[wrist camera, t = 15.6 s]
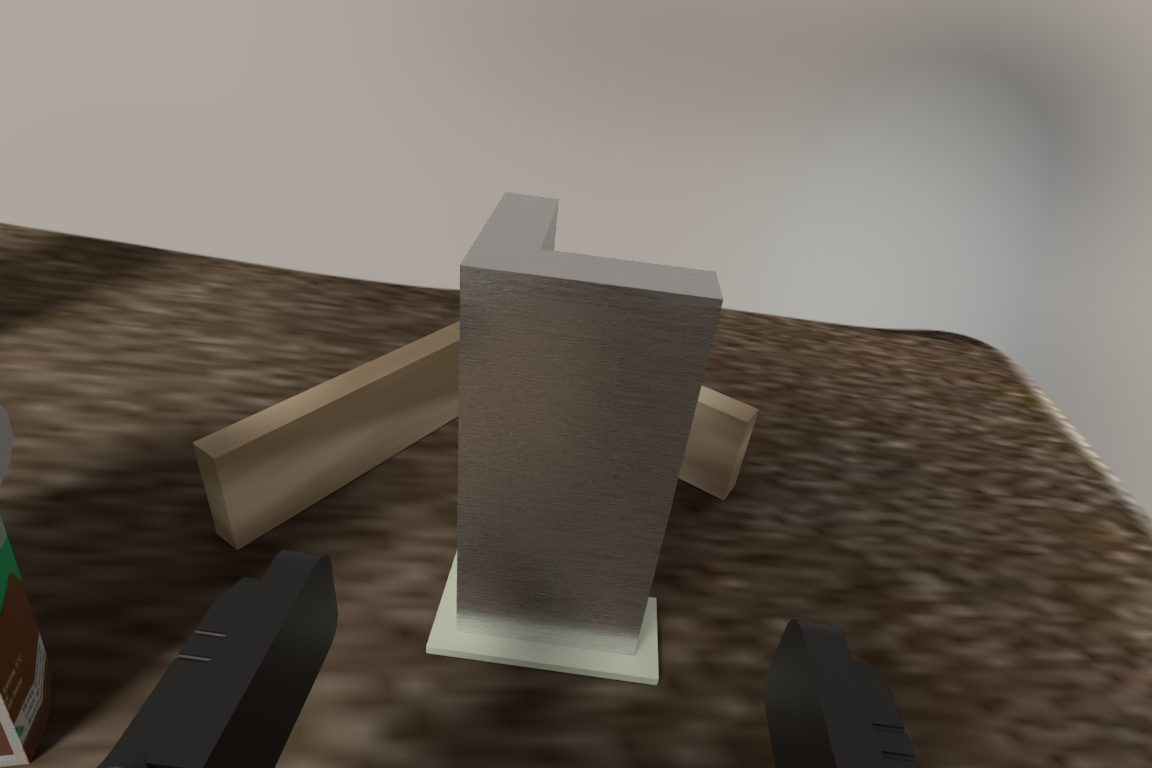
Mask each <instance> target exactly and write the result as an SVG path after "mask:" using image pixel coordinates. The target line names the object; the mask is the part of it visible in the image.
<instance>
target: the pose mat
mask: <svg viewBox="0 0 1152 768" xmlns="http://www.w3.org/2000/svg"><path fill="white" fill-rule="evenodd" d="M456 611H457V552H456V555H455V558H454V561H453V564H452V567H451V571H450V574H449V577H448V580H447V583H446V586H445V589H444V592H443V596H442V599H441V602H440V605H439V608H438V611H437V614H436V617H435V621H434V624H433V627H432V630H431V633H430V636H429V639H428V642H427V646H426V653H430V654H437V655H444V656H451V657H458V658H465V659H472V660H480V661H487V662H494V663H501V664H508V665H515V666H522V667H529V668H537V669H544V670H551V671H558V672H565V673H572V674H579V675H586V676H594V677H601V678H608V679H615V680H622V681H629V682H636V683H643V684H651V685H657V684H658V680H659V672H658V638H657V604H656V598H653V597H649V598H648V602H647V606H646V610H645V614H644V618H643V622H642V626H641V630H640V634H639V638H638V642H637V646H636V650H635V654H634V656H630V655H623V654H616V653H609V652H601V651H594V650H587V649H579V648H572V647H565V646H557V645H550V644H543V643H535V642H528V641H521V640H513V639H506V638H499V637H492V636H484V635H477V634H470V633H462V632H456Z"/></svg>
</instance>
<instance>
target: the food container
mask: <svg viewBox="0 0 1152 768" xmlns="http://www.w3.org/2000/svg"><path fill="white" fill-rule="evenodd" d="M12 442H13V432H12V429H11V425H10V421H9V417H8V414H7V412H6V411H5V410H4V408H3V407H2V406H1V404H0V484H1V482H2V480H3V477H4V475H5V473H6V470H7V468H8V466H9V463H10V460H11V451H12ZM51 676H52V669H51V666H50V663H49V660H48V657H47V654H46V651H45V648H44V645H43V642H42V639H41V636H40V633H39V630H38V627H37V624H36V621H35V618H34V615H33V612H32V609H31V606H30V603H29V600H28V597H27V594H26V591H25V587H24V584H23V581H22V578H21V575H20V572H19V569H18V566H17V563H16V560H15V557H14V554H13V551H12V548H11V545H10V542H9V539H8V536H7V533H6V530H5V527H4V524H3V521H2V518H1V515H0V767H4V766H13V765H22V764H30V762H31V759H32V757H33V755H34V752H35V750H36V747H37V745H38V743H39V740H40V738H41V735H42V733H43V731H44V728H45V726H46V723H47V721H48V719H49V705H50V690H51Z"/></svg>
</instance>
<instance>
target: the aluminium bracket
mask: <svg viewBox="0 0 1152 768" xmlns="http://www.w3.org/2000/svg"><path fill="white" fill-rule="evenodd" d="M557 211H558V199H552V198H544V197H537V196H529V195H521V194H513V193H505V194H504V196H503V197H502V199H501V201H500V202H499V204H498V206H497V207H496V209H495V210H494V212H493V213H492V215H491V217H490V218H489V220H488V222H487V223H486V225H485V226H484V228H483V229H482V231H481V233H480V234H479V236H478V238H477V239H476V241H475V242H474V244H473V246H472V247H471V249H470V250H469V252H468V254H467V255H466V257H465V258H464V260H463V262H462V263H461V265H460V338H459V429H458V520H457V611H456V632H462V633H470V634H477V635H484V636H492V637H499V638H506V639H513V640H521V641H528V642H535V643H543V644H550V645H557V646H565V647H572V648H579V649H587V650H594V651H601V652H609V653H616V654H623V655H630V656H634V654H635V650H636V646H637V642H638V638H639V634H640V630H641V626H642V622H643V618H644V614H645V610H646V606H647V602H648V598H649V594H650V590H651V586H652V582H653V578H654V574H655V570H656V566H657V562H658V558H659V554H660V550H661V546H662V542H663V538H664V534H665V530H666V526H667V522H668V518H669V514H670V510H671V506H672V502H673V498H674V494H675V490H676V486H677V482H678V478H679V474H680V470H681V466H682V462H683V458H684V454H685V450H686V446H687V442H688V438H689V434H690V430H691V426H692V422H693V418H694V414H695V410H696V406H697V402H698V398H699V394H700V390H701V386H702V382H703V378H704V374H705V370H706V366H707V362H708V358H709V354H710V350H711V346H712V342H713V338H714V334H715V330H716V326H717V322H718V318H719V314H720V310H721V306H722V302H723V297H722V294H721V290H720V286H719V283H718V279H717V276H716V272H712V271H704V270H696V269H689V268H680V267H673V266H666V265H658V264H650V263H641V262H634V261H627V260H619V259H612V258H604V257H597V256H589V255H581V254H573V253H566V252H558V251H554V244H555V233H556V221H557Z"/></svg>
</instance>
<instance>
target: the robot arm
mask: <svg viewBox="0 0 1152 768" xmlns="http://www.w3.org/2000/svg"><path fill="white" fill-rule="evenodd" d="M337 618H338V611H337V603H336V596H335V588H334V581H333V574H332V567H331V561H330V558H329V556H328V555H323V554H316V553H308V552H301V551H293V550H282V551H281V552H279V553H278V554H277V555H276V557H275V558H274V560H273V561H272V563H271V564H270V566H269V568H268V569H267V571H266V572H265V574H264V575H263V577H262V579H255V578H248V577H244V578H242V579H241V580H240V581H238V582H237V583H236V584H235V585H233V586H232V587H231V588H230V589H228V590H227V591H226V592H225V593H223V594H222V595H221V596H220V597H218V598H217V599H216V600H215V601H214V602H213V604H212V605H211V607H210V608H209V610H208V611H207V613H206V614H205V615H204V617H203V618H202V620H201V621H200V623H199V624H198V626H197V627H196V629H195V633H194V635H191V636H190V637H189V639H188V640H187V642H186V643H185V645H184V646H183V647H182V649H181V650H180V652H179V656H178V658H177V659H174V661H173V662H172V664H171V665H170V666H169V668H168V669H167V671H166V672H165V674H164V675H163V677H162V678H161V680H160V681H159V682H158V684H157V685H156V687H155V688H154V690H153V691H152V693H151V694H150V696H149V697H148V698H147V700H146V701H145V703H144V704H143V706H142V707H141V709H140V710H139V712H138V713H137V714H136V716H135V717H134V719H133V720H132V722H131V723H130V725H129V726H128V728H127V729H126V730H125V732H124V733H123V735H122V736H121V738H120V739H119V741H118V742H117V744H116V745H115V746H114V748H113V749H112V751H111V752H110V753H109V755H108V756H107V757H106V758H105V760H104V761H103V762H102V763H101V764H100V765H99V766H98V767H97V768H275V766H276V764H277V762H278V759H279V757H280V755H281V753H282V751H283V749H284V746H285V744H286V742H287V740H288V738H289V736H290V733H291V731H292V729H293V727H294V725H295V723H296V721H297V718H298V716H299V714H300V712H301V710H302V708H303V705H304V703H305V701H306V699H307V697H308V695H309V692H310V690H311V688H312V686H313V684H314V682H315V679H316V677H317V675H318V673H319V671H320V669H321V666H322V664H323V662H324V660H325V658H326V656H327V654H328V651H329V649H330V647H331V644H332V641H333V638H334V635H335V631H336V626H337ZM764 696H765V709H766V715H767V720H768V726H769V731H770V737H771V742H772V748H773V753H774V759H775V765H776V768H919V766H918V764H917V763H916V762H915V761H914V756H915V755H914V753H913V750H912V747H911V744H910V742H909V739H908V736H907V734H905V733H904V725H903V722H902V720H901V717H900V714H899V711H898V709H897V706H896V703H895V700H894V698H893V695H892V693H891V692H890V690H889V689H888V688H887V686H886V685H885V684H884V682H883V681H882V680H881V678H880V677H879V676H878V674H877V673H876V672H875V670H874V669H873V668H872V666H871V665H870V664H869V663H865V662H857V661H852V660H851V657H850V653H849V650H848V647H847V644H846V641H845V638H844V635H843V633H842V631H841V629H840V628H839V627H838V626H837V625H832V624H825V623H817V622H810V621H802V620H795V619H793V620H791V621H789V623H788V625H787V627H786V629H785V631H784V634H783V636H782V638H781V641H780V643H779V645H778V648H777V650H776V652H775V655H774V657H773V659H772V662H771V664H770V666H769V669H768V671H767V675H766V680H765V695H764Z"/></svg>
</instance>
